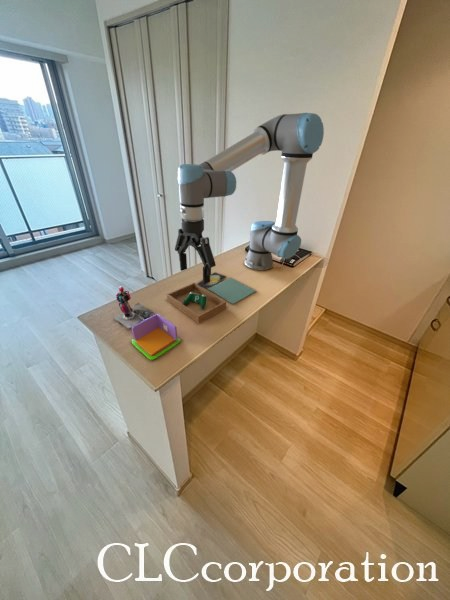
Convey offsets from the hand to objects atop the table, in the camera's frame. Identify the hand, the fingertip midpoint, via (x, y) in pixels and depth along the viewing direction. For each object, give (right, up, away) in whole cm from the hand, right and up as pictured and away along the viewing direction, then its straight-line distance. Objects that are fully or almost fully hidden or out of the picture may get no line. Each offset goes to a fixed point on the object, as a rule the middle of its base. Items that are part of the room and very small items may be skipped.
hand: (194, 275), depth 90 cm
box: (0, -11, +8) cm, 13 cm away
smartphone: (+5, 0, +24) cm, 25 cm away
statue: (-23, -16, 0) cm, 28 cm away
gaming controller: (0, -11, +8) cm, 14 cm away
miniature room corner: (-11, -23, -11) cm, 28 cm away
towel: (+15, -5, +17) cm, 23 cm away
